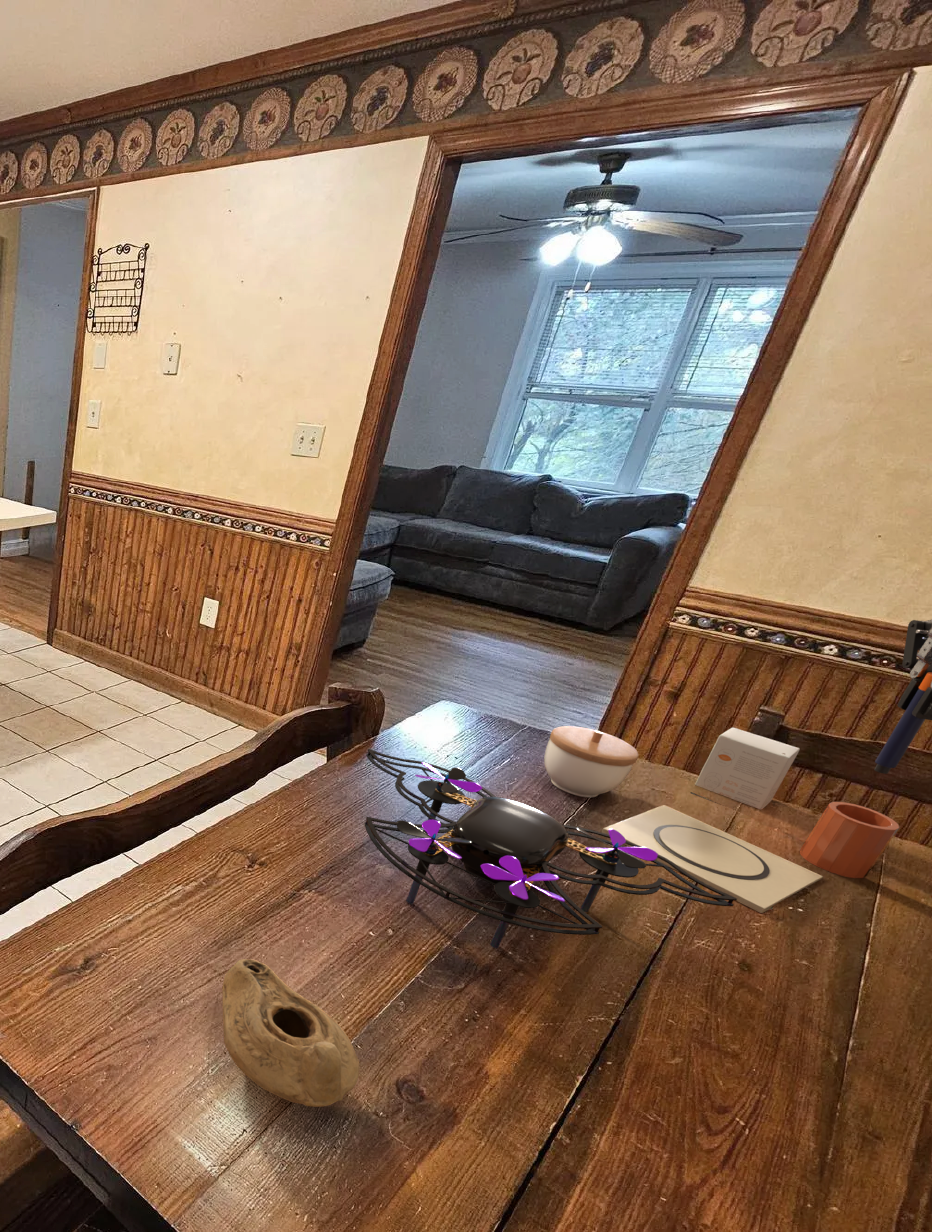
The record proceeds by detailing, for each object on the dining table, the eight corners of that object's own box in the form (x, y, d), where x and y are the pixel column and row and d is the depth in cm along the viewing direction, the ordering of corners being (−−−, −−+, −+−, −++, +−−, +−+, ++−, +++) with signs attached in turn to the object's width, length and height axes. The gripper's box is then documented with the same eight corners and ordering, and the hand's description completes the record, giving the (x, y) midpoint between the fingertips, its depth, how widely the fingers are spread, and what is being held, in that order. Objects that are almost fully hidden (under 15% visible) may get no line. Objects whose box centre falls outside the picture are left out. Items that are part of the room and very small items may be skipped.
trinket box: (581, 769, 125) (605, 717, 120) (635, 806, 115) (663, 751, 111) (517, 768, 124) (539, 715, 120) (566, 805, 114) (591, 749, 110)
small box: (766, 810, 116) (802, 748, 112) (754, 821, 113) (791, 757, 109) (700, 785, 122) (732, 725, 117) (687, 795, 119) (719, 734, 114)
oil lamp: (260, 983, 79) (277, 921, 75) (380, 1107, 67) (407, 1041, 63) (170, 1013, 75) (184, 949, 71) (280, 1151, 63) (304, 1082, 59)
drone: (750, 873, 84) (698, 995, 67) (709, 942, 89) (649, 1073, 72) (382, 731, 111) (278, 793, 94) (364, 789, 115) (261, 858, 98)
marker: (873, 766, 98) (931, 670, 93) (894, 773, 97) (954, 676, 91) (867, 769, 97) (924, 673, 92) (888, 776, 96) (948, 679, 90)
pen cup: (810, 847, 108) (841, 797, 104) (872, 874, 103) (907, 823, 99) (789, 857, 105) (820, 807, 102) (852, 886, 100) (887, 834, 97)
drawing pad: (661, 809, 115) (664, 803, 114) (820, 881, 101) (824, 875, 100) (600, 832, 108) (603, 826, 108) (761, 913, 94) (765, 907, 93)
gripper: (1108, 594, 79) (1003, 745, 87) (999, 561, 91) (914, 697, 99) (1012, 584, 81) (917, 732, 89) (917, 553, 93) (841, 686, 101)
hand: (916, 713), depth 94 cm, fingers closed on marker, 2 cm apart
